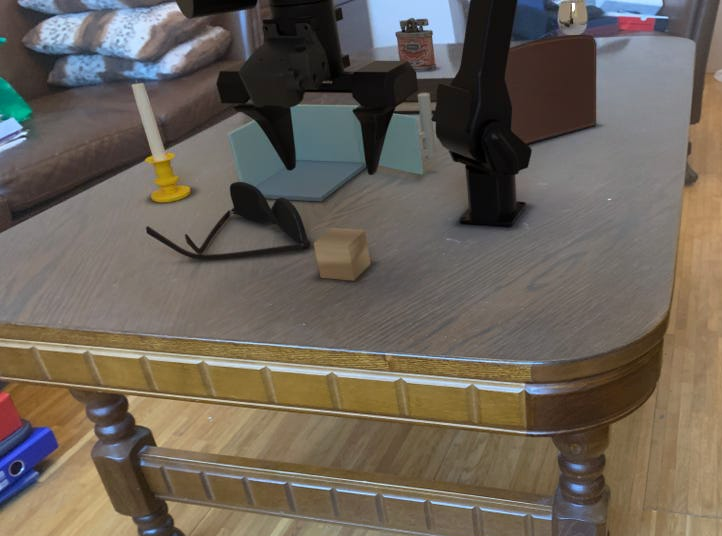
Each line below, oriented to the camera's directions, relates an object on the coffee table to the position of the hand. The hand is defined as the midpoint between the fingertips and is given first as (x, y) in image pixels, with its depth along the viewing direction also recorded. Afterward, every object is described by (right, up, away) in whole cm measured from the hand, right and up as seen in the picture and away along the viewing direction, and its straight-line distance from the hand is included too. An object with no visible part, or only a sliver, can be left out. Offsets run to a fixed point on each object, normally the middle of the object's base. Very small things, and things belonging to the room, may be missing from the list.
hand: (331, 171), depth 76 cm
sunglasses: (-14, -6, +13) cm, 20 cm away
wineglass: (+34, +40, +77) cm, 93 cm away
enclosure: (-9, +6, +30) cm, 32 cm away
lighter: (+2, +43, +85) cm, 95 cm away
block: (+1, -9, +5) cm, 11 cm away
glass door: (+4, +9, +30) cm, 32 cm away
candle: (-28, +4, +29) cm, 41 cm away
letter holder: (+22, +16, +41) cm, 50 cm away
